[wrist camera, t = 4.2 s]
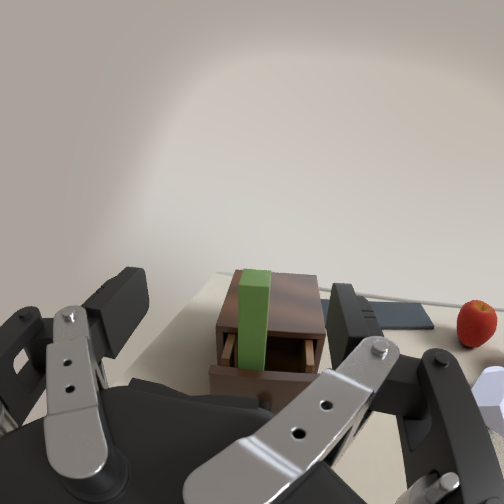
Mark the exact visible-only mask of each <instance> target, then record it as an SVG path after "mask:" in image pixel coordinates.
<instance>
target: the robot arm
mask: <svg viewBox="0 0 504 504" xmlns="http://www.w3.org/2000/svg"><path fill="white" fill-rule="evenodd" d="M148 308H149V295H148V289H147V282H146V275H145V271H144V269H142V268H136V267H126V268H125V269H124V270H122V271H121V272H120V273H119V274H118V275H117V276H115V277H113V278H111V279H109V280H108V281H106V282H105V283H104V284H103V285H102V286H101V288H99V289H98V290H97V291H96V292H95V293H94V294H93V295H91V296H90V298H88V299H87V300H86V301H85V302H84V304H82V305H81V306H68V307H65V308H63V309H61V310H59V311H58V312H57V313H56V314H55V316H54V318H42V317H41V314H40V311H39V309H38V308H37V307H32V306H30V307H24V308H22V309H20V310H18V311H17V312H15V313H14V314H13V315H12V316H11V317H10V318H9V319H8V320H7V321H6V322H5V323H4V324H3V325H2V326H1V327H0V504H367V503H366V502H365V501H364V500H363V499H362V498H361V497H359V496H358V495H357V494H356V493H355V492H354V491H353V490H352V489H351V488H350V487H349V486H348V485H347V484H346V483H345V482H344V481H343V480H342V479H341V478H340V477H339V476H338V475H337V474H336V473H335V472H334V471H333V470H332V469H333V468H334V466H335V465H336V464H337V463H338V461H339V460H340V459H341V457H342V456H343V454H344V453H345V451H346V450H347V448H348V447H349V446H350V444H351V443H352V442H353V440H354V439H355V438H356V436H357V435H358V434H359V432H360V431H361V430H362V428H363V427H364V425H365V424H366V423H367V421H368V420H369V418H370V417H371V415H372V414H373V413H374V411H377V412H382V413H387V414H392V415H396V419H397V425H398V430H399V435H400V441H401V447H402V453H403V460H404V467H405V474H406V482H407V491H406V492H404V493H403V494H402V495H401V496H400V497H399V498H398V500H397V501H396V503H395V504H504V479H503V475H502V472H501V468H500V465H499V462H498V459H497V456H496V453H495V450H494V447H493V444H492V441H491V438H490V435H489V433H488V430H487V427H486V425H485V422H484V420H483V417H482V414H481V412H480V410H479V407H478V405H477V402H476V400H475V398H474V395H473V393H472V391H471V389H470V386H469V384H468V382H467V380H466V378H465V376H464V373H463V371H462V369H461V367H460V365H459V363H458V361H457V359H456V358H455V357H454V356H453V355H452V354H451V353H449V352H448V351H446V350H443V349H438V348H432V349H429V350H427V351H425V352H424V354H423V356H422V358H421V359H419V358H414V357H409V356H405V355H402V354H400V350H399V348H398V346H397V345H396V344H395V343H394V342H393V341H391V340H389V339H387V338H385V337H384V335H383V332H382V330H381V327H380V325H379V322H378V320H377V319H376V315H375V313H374V310H373V308H372V305H371V303H370V302H369V301H368V300H367V299H365V298H364V297H363V296H356V294H355V292H354V289H353V287H352V285H351V284H344V283H333V286H332V290H331V296H330V302H329V307H328V313H327V320H326V330H327V337H328V343H329V349H330V356H331V363H332V369H331V368H327V369H326V370H324V371H323V372H322V373H321V374H320V375H319V376H318V377H317V378H316V379H315V380H314V381H313V382H312V383H311V384H310V385H309V386H308V387H307V388H306V389H305V390H304V391H302V392H301V393H300V394H299V395H298V396H297V397H296V398H295V399H294V400H293V401H292V402H290V403H289V404H288V405H287V406H286V407H285V408H284V409H283V410H281V411H280V412H279V413H278V414H277V415H276V414H274V413H272V412H270V411H268V410H265V409H262V408H259V407H258V404H259V398H255V397H245V396H235V395H227V394H223V395H204V396H189V395H186V394H184V393H181V392H179V391H176V390H174V389H171V388H169V387H167V386H165V385H162V384H159V383H154V382H150V381H145V380H141V379H136V378H132V379H131V381H130V383H129V385H128V386H117V387H111V388H109V387H108V383H107V379H106V375H105V370H104V366H103V363H102V360H101V359H102V358H103V357H108V358H112V359H115V358H116V357H117V355H118V353H119V352H120V351H121V349H122V348H123V346H124V345H125V343H126V342H127V340H128V339H129V338H130V336H131V335H132V333H133V332H134V330H135V329H136V327H137V326H138V325H139V323H140V322H141V320H142V319H143V317H144V316H145V315H146V313H147V311H148ZM23 348H24V350H25V352H26V354H27V356H28V358H29V360H28V361H27V362H26V364H25V365H24V366H23V367H22V369H21V370H20V371H19V373H18V374H16V372H15V370H14V367H13V362H14V359H15V357H16V356H17V355H18V354H19V352H20V351H21V350H22V349H23ZM45 389H46V393H47V415H46V416H44V417H42V418H40V419H37V420H35V421H33V422H31V423H28V424H26V425H23V426H22V424H23V422H24V421H25V419H26V418H27V416H28V415H29V413H30V411H31V409H32V408H33V407H34V405H35V404H36V402H37V401H38V399H39V398H40V396H41V395H42V393H43V392H44V390H45Z"/></svg>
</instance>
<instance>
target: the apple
mask: <svg viewBox="0 0 504 504" xmlns="http://www.w3.org/2000/svg"><path fill="white" fill-rule="evenodd" d="M496 326H497V316H496V313H495V311H494V309H493V308H492V307H491V306H489V305H488V304H486V303H484V302H483V301H478V300H472V301H470V302H467V303H465V304H464V305H463V306H462V308H461V310H460V312H459V315H458V318H457V334H458V338H459V339H460V341H461V342H462V343H463V344H464V345H465V346H467V347H479V346H481V345H482V344H484V343H485V342H486V341H488V340H489V339H490V338H491V337H492V335H493V334H494V332H495V330H496Z"/></svg>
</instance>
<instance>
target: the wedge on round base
mask: <svg viewBox="0 0 504 504" xmlns="http://www.w3.org/2000/svg"><path fill="white" fill-rule="evenodd" d="M471 391H472V393H473V395H474V398H475V400H476V402H477V405H478V407H479V410H480V412H481V414H482V417H483V420H484V422H485V425H486V426H488V427H489V428H491V429H492V430H494V431H495V432H497V433H498V434H500V435H501V436H503V437H504V367H499V366H492V367H489V368H486V369H485V370H484V371H483V372H482V374H481V375H480V377H479V378H478V380H477V381H476V383H475V385H474V386H473V388H472V389H471Z"/></svg>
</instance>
